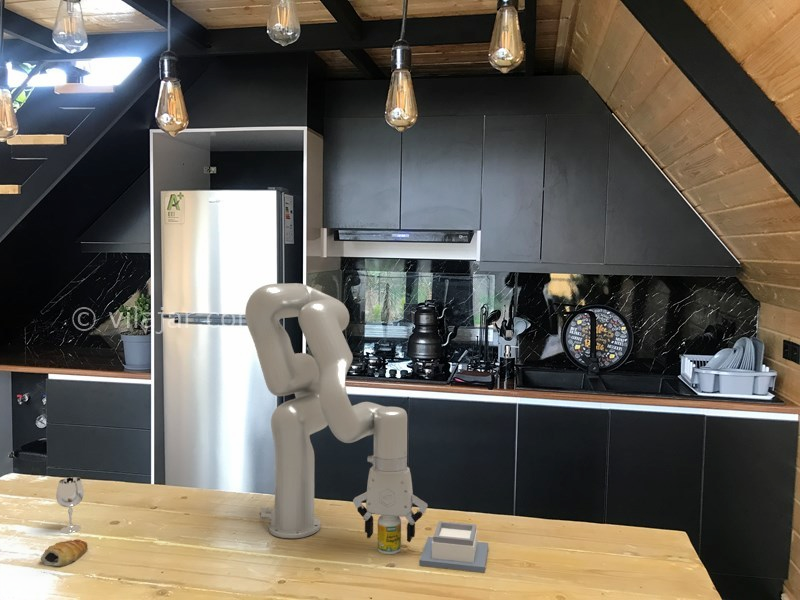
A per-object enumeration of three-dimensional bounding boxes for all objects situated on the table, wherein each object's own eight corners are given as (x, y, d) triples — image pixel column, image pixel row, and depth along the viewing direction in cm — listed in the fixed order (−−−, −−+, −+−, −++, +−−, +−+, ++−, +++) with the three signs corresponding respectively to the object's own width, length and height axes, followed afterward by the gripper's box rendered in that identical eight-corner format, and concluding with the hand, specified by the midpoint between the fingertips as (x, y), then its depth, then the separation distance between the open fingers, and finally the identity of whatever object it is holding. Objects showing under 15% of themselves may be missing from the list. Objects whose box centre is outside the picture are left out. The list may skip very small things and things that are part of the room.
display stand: (419, 565, 135) (419, 538, 135) (427, 541, 147) (428, 517, 147) (484, 572, 133) (485, 545, 132) (488, 547, 144) (488, 522, 144)
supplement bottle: (392, 542, 147) (393, 502, 146) (405, 551, 142) (406, 509, 142) (372, 547, 144) (373, 506, 143) (385, 557, 139) (385, 514, 139)
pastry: (71, 546, 143) (71, 530, 143) (96, 551, 141) (96, 534, 141) (37, 565, 134) (37, 547, 134) (63, 570, 132) (63, 552, 132)
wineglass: (82, 532, 150) (82, 483, 149) (55, 535, 148) (54, 485, 147) (85, 523, 155) (84, 475, 154) (58, 526, 153) (57, 477, 152)
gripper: (348, 465, 140) (348, 541, 141) (425, 470, 136) (424, 548, 137) (357, 455, 147) (357, 527, 148) (430, 460, 144) (430, 534, 145)
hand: (389, 537), depth 143 cm, fingers open, 8 cm apart
